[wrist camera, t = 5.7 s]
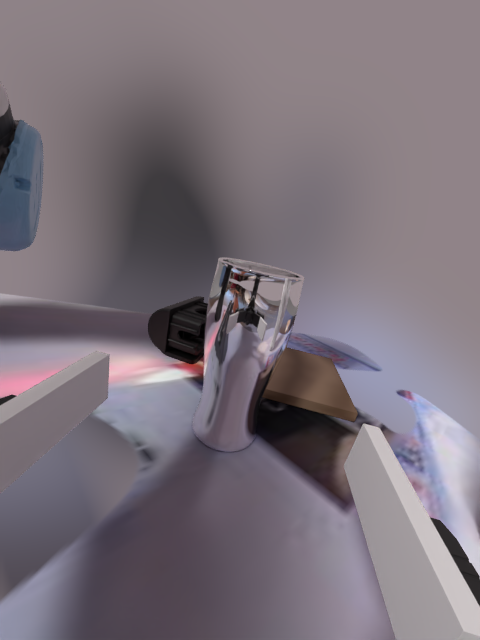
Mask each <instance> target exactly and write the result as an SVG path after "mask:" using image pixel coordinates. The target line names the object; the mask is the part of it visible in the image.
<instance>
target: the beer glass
mask: <svg viewBox="0 0 480 640" xmlns="http://www.w3.org/2000/svg"><path fill="white" fill-rule="evenodd" d="M303 281H304V277H303V276H301V275H299V274H296V273H294V272H290V271H288V270H284V269H281V268H277V267H273V266H269V265H265V264H260V263H256V262H251V261H245V260H239V259H233V258H219V259H218V265H217V269H216V273H215V277H214V280H213V284H212V288H211V292H210V296H209V301H208V305H207V310H206V317H205V324H204V342H203V353H204V383H203V391H202V395H201V399H200V402H199V404H198V407H197V409H196V411H195V413H194V416H193V419H192V427H193V430H194V433H195V435H196V436H197V438H198V439H199V440H200V441H201V442H202V443H204V444H205V445H207V446H208V447H210V448H213V449H215V450H219V451H224V452H234V451H239V450H242V449H244V448H246V447H247V446H249V445H250V444H251V443H252V442H253V440H254V438H255V436H256V432H257V419H258V410H259V405H260V402H261V399H262V396H263V394H264V392H265V390H266V388H267V386H268V384H269V382H270V380H271V378H272V376H273V374H274V372H275V370H276V368H277V366H278V364H279V363H280V360H281V358H282V356H283V354H284V351H285V349H286V347H287V344H288V341H289V338H290V335H291V332H292V329H293V325H294V321H295V317H296V313H297V309H298V303H299V299H300V294H301V289H302V285H303Z"/></svg>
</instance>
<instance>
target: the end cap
mask: <svg viewBox="0 0 480 640" xmlns="http://www.w3.org/2000/svg"><path fill="white" fill-rule="evenodd" d="M203 300H204V297H194V298H191V299H188V300H185V301H182V302H179V303H176V304H174V305H170V306H168V307H165V308H162V309H159V310H157V311H156V312H155V313H153V314H152V316H151V317H150V319H149V323H148V332H149V336H150V338H151V340H152V342H153V343H154V345H155V346H156V347H157V348H158V349H160V350H161V351H162V353H163V354H165V355H167V356H169V357H172V358H175V359H178V360H180V361H183V362H186V363H189V364H194V363H196V362H197V361H198V360H199V359H200V358H201V357H202V356H204V353H203V342H204V324H205V317H206V310H207V305H208V304H207V303H204V302H203Z"/></svg>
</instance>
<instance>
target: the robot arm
mask: <svg viewBox="0 0 480 640" xmlns="http://www.w3.org/2000/svg"><path fill="white" fill-rule="evenodd" d="M42 182H43V145H42V141H41V136H40V133H39V132H38V131H37V130H36V129H35V128H34V127H32V126H30V125H28V124H27V123H25V122H24V121H22V120H20V121H18V120H13V117H12V113H11V108H10V104H9V100H8V96H7V93H6V90H5V88H4V86H3V85H2V83H1V82H0V250H5V251H19V250H22V249H25V248H27V247H29V246H30V245H31V244H32V243H33V241H34V238H35V236H36V232H37V227H38V221H39V214H40V207H41V196H42V184H43V183H42ZM109 356H110V354H106V353H103V352H99V351H95V352H93V353H91V354H89V355H88V356H86V357H84V358H82V359H81V360H79V361H77V362H75V363H74V364H72V365H70V366H68V367H67V368H65V369H63V370H61V371H60V372H58V373H56V374H54V375H53V376H51V377H49V378H47V379H46V380H44V381H42V382H40V383H39V384H37V385H35V386H33V387H32V388H30V389H28V390H26V391H25V392H23V393H21V394H19V395H18V396H15V395H10V396H7V397H4V398H1V399H0V494H1V492H3V491H4V490H5V489H6V488H7V487H8V486H9V485H11V484H12V483H13V482H14V481H15V480H16V479H17V478H19V477H20V476H21V475H22V474H23V473H24V472H25V471H26V470H28V469H29V468H30V467H31V466H32V465H33V464H34V463H35V462H36V461H38V460H39V459H40V458H41V457H42V456H43V455H44V454H46V453H47V452H48V451H49V450H50V449H51V448H52V447H53V446H55V444H57V443H58V442H59V441H60V440H61V439H62V438H63V437H65V436H66V435H67V434H68V433H69V432H70V431H71V430H72V429H74V427H76V426H77V425H78V424H79V423H80V422H81V421H83V420H84V419H85V418H86V417H87V416H88V415H89V414H90V413H92V412H93V411H94V410H95V409H96V408H97V407H98V406H99V405H101V404H102V403H103V402H104V401H105V400H106V399H107V398H108V379H109ZM344 469H345V472H346V475H347V479H348V482H349V485H350V489H351V492H352V495H353V499H354V502H355V505H356V509H357V512H358V515H359V519H360V522H361V525H362V529H363V532H364V535H365V539H366V542H367V545H368V548H369V552H370V555H371V558H372V562H373V565H374V568H375V572H376V575H377V578H378V582H379V585H380V588H381V592H382V595H383V598H384V602H385V605H386V608H387V612H388V615H389V618H390V622H391V625H392V628H393V632H394V635H395V638H396V640H480V579H479V575H478V573H477V572H476V570H475V568H474V567H473V565H472V564H471V563H469V559H468V557H467V555H466V554H465V552H464V550H463V549H462V547H461V546H460V544H459V542H458V541H457V539H456V538H455V537H454V536H453V534H452V533H451V532H450V531H449V530H448V529H447V528H446V526H445V525H444V524H443V523H442V522H441V521H440V520H437V519H434V518H430V517H429V515H428V514H427V512H426V510H425V508H424V506H423V505H422V503H421V501H420V499H419V498H418V496H417V494H416V492H415V490H414V489H413V487H412V485H411V483H410V481H409V480H408V478H407V476H406V474H405V473H404V471H403V469H402V467H401V465H400V464H399V462H398V460H397V458H396V457H395V455H394V453H393V451H392V449H391V448H390V446H389V444H388V442H387V441H386V439H385V437H384V435H383V433H382V432H381V430H380V428H378V427H374V426H371V425H367V424H363V425H362V427H361V430H360V432H359V434H358V436H357V438H356V440H355V443H354V445H353V447H352V449H351V451H350V454H349V456H348V458H347V460H346V462H345V464H344Z"/></svg>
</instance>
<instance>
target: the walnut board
mask: <svg viewBox="0 0 480 640" xmlns="http://www.w3.org/2000/svg"><path fill="white" fill-rule="evenodd" d="M262 397H263V398H267V399H271V400H274V401H278V402H282V403H286V404H289V405H293V406H297V407H300V408H304V409H308V410H311V411H315V412H319V413H323V414H326V415H330V416H334V417H337V418H341V419H345V420H348V421H352V422H354V421H355V419H356V416H357V414H358V413H357V411H356V409H355V407H354V405H353V403H352V401H351V398H350V396H349V394H348V393H347V390H346V388H345V386H344V384H343V382H342V380H341V378H340V376H339V374H338V372H337V370H336V368H335V365H334V363H333V361H332V359H330V358H326V357H322V356H318V355H314V354H310V353H306V352H303V351H299V350H295V349H291V348H287V347H286V349H285V351H284V354H283V356H282V358H281V360H280V363H279V364H278V366H277V368H276V370H275V372H274V374H273V376H272V378H271V380H270V382H269V384H268V386H267V388H266V390H265V392H264V394H263V396H262Z"/></svg>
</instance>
